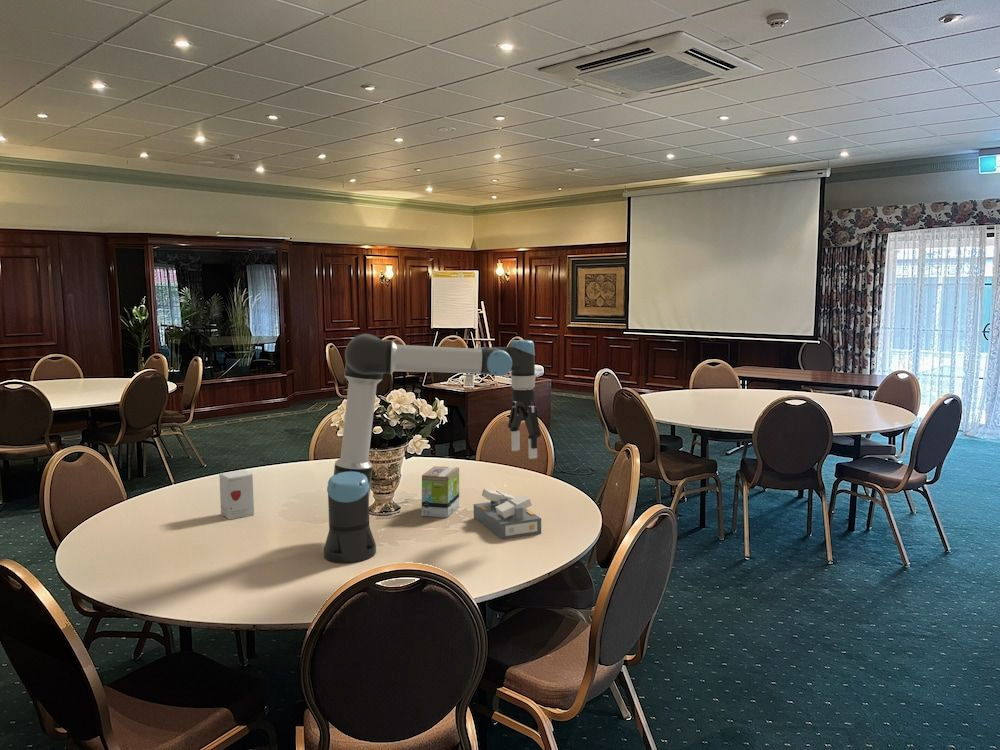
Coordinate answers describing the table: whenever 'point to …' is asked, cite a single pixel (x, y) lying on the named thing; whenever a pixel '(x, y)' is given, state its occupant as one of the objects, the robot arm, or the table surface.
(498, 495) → the rocker
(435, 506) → the tea box
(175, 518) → the table surface
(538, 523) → the switch unit
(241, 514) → the supplement box
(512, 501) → the rocker
